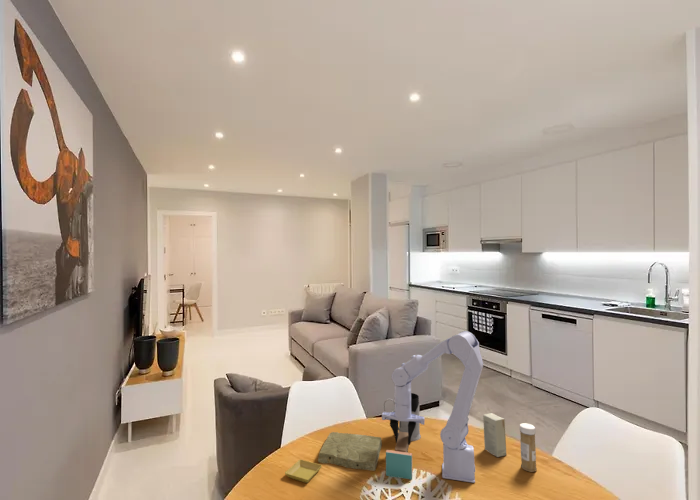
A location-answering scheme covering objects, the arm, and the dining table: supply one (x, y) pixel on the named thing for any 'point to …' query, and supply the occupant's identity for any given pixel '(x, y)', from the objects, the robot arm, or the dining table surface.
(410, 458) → the glazed tile
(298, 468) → the saucer
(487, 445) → the skincare box
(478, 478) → the dining table surface
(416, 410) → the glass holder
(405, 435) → the walnut stick
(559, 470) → the dining table surface
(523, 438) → the sprinkles bottle
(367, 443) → the decorative tile
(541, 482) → the dining table surface
